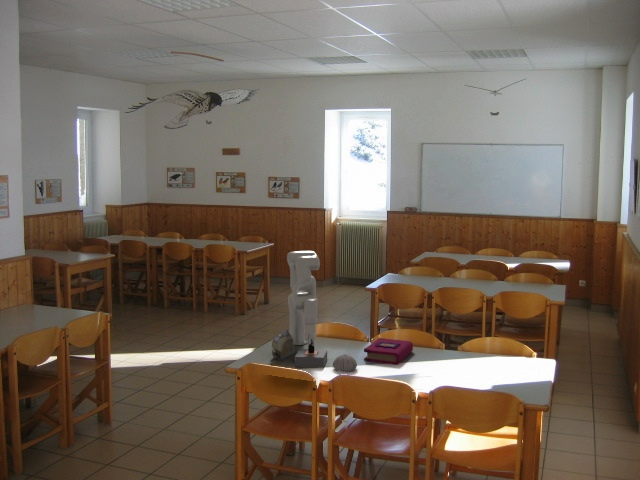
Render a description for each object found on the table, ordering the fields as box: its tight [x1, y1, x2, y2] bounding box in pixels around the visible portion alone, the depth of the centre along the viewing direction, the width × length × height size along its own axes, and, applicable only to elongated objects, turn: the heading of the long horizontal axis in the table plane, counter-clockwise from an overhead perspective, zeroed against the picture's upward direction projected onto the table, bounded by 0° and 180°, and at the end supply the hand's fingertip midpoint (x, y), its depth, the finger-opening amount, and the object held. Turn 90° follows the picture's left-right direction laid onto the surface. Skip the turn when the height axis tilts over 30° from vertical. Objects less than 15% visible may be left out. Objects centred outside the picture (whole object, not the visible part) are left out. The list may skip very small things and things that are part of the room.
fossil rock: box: [271, 329, 295, 362], centre depth 388 cm, size 21×10×15 cm, turn 158°
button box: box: [294, 348, 328, 368], centre depth 375 cm, size 16×16×6 cm
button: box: [304, 351, 318, 355], centre depth 375 cm, size 7×7×3 cm
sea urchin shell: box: [332, 354, 358, 373], centre depth 363 cm, size 13×14×8 cm
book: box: [363, 337, 414, 366], centre depth 386 cm, size 21×28×8 cm
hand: (311, 352), depth 375 cm, fingers closed
